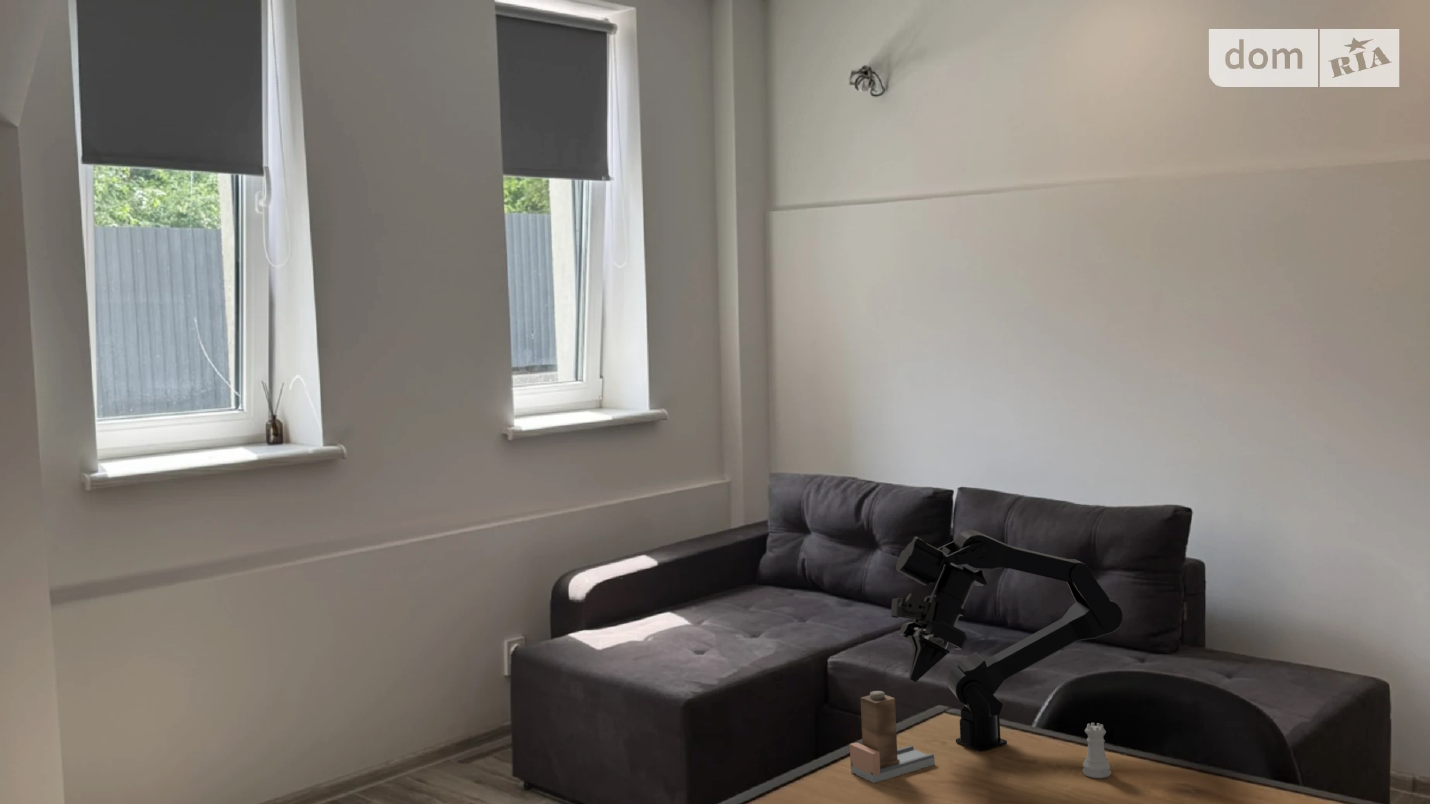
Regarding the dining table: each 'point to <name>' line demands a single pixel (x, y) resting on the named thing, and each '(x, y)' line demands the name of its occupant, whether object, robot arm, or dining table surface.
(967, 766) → the dining table surface
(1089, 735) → the rook chess piece
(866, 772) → the rail
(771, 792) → the dining table surface
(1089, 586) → the robot arm
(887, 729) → the slider block with knob
